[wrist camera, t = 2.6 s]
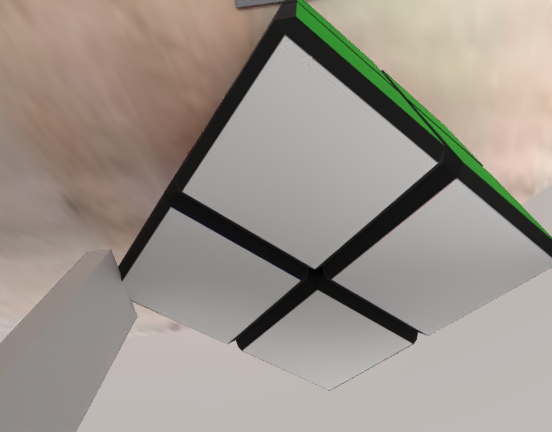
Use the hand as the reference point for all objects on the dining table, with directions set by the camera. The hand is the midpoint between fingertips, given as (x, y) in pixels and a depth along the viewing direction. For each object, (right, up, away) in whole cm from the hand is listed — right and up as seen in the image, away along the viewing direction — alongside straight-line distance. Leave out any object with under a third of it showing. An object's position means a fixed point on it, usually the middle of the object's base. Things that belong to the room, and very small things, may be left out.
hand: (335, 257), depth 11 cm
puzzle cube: (0, +5, +7) cm, 9 cm away
